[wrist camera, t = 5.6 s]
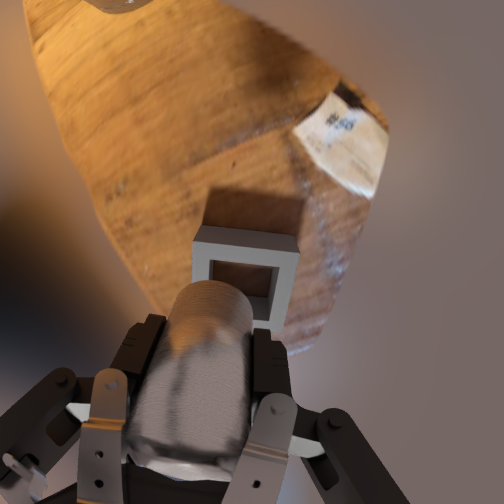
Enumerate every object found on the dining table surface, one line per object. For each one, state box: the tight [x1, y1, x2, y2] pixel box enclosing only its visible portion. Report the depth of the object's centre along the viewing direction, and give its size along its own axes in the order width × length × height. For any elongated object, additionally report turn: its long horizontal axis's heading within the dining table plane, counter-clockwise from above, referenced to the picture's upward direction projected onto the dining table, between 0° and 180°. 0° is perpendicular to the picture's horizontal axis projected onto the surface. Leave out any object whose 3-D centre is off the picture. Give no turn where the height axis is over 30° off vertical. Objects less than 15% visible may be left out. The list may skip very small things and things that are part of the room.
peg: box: [126, 280, 253, 482], centre depth 10 cm, size 4×4×8 cm
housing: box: [192, 225, 300, 334], centre depth 27 cm, size 9×9×4 cm
